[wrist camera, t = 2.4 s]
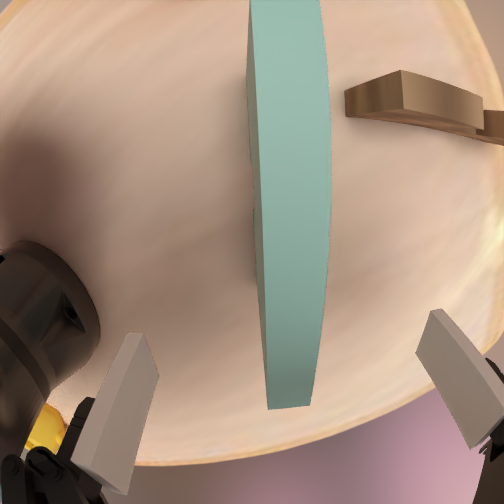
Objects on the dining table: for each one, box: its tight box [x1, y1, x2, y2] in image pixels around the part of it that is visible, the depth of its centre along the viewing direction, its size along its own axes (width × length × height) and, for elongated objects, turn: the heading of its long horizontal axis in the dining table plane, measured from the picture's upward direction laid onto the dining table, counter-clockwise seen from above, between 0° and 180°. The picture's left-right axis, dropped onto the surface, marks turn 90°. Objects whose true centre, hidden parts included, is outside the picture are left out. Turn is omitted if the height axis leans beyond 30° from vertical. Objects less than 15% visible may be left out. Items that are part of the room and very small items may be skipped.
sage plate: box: [246, 0, 331, 410], centre depth 14 cm, size 16×2×12 cm, turn 3°
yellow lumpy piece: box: [25, 403, 65, 454], centre depth 29 cm, size 15×14×10 cm
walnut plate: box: [345, 70, 504, 146], centre depth 13 cm, size 16×2×8 cm, turn 93°
